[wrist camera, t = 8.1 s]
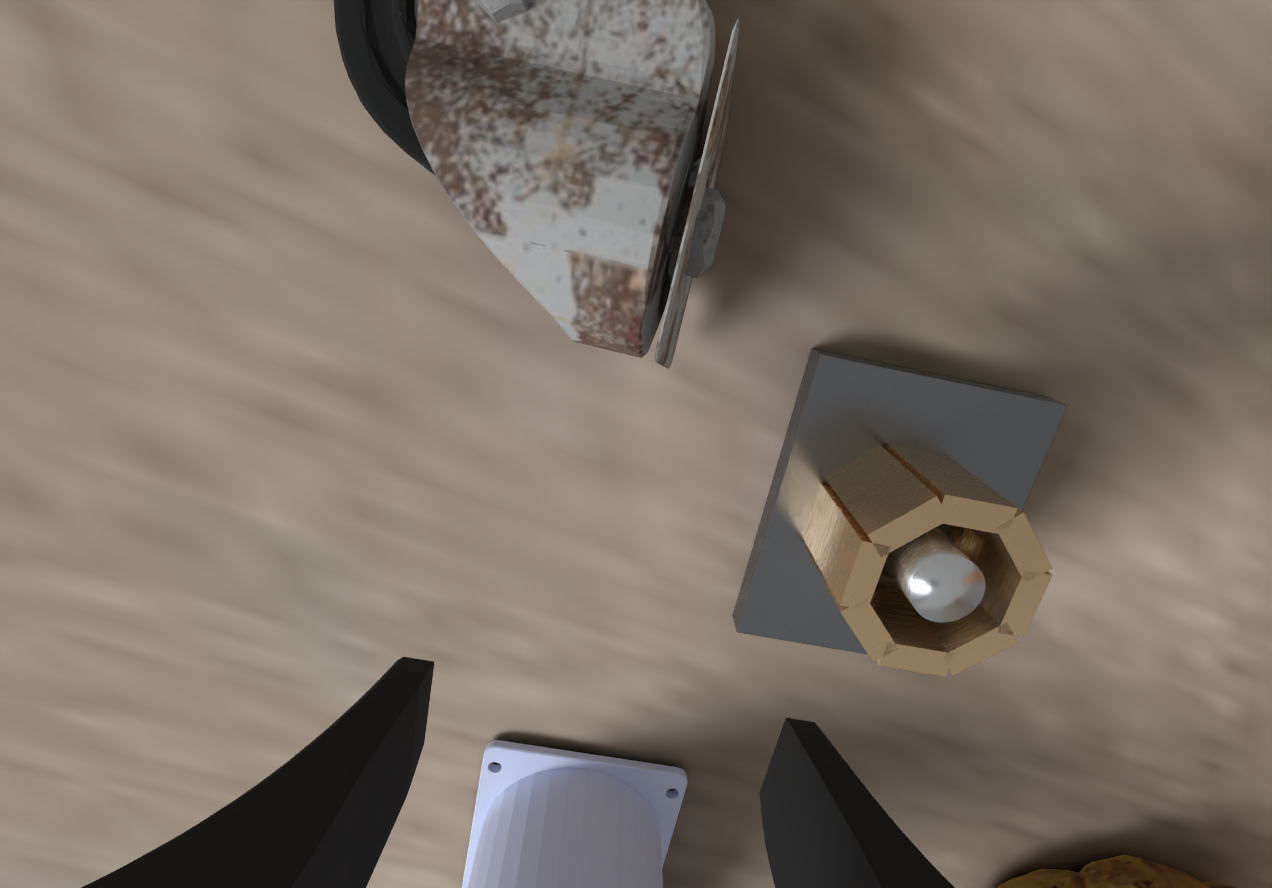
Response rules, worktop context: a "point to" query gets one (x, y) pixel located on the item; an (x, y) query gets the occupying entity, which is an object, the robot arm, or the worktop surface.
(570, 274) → the caster wheel
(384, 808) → the robot arm
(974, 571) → the stub shaft
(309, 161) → the worktop surface
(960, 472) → the hub ring
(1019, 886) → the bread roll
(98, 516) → the worktop surface
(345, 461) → the worktop surface
